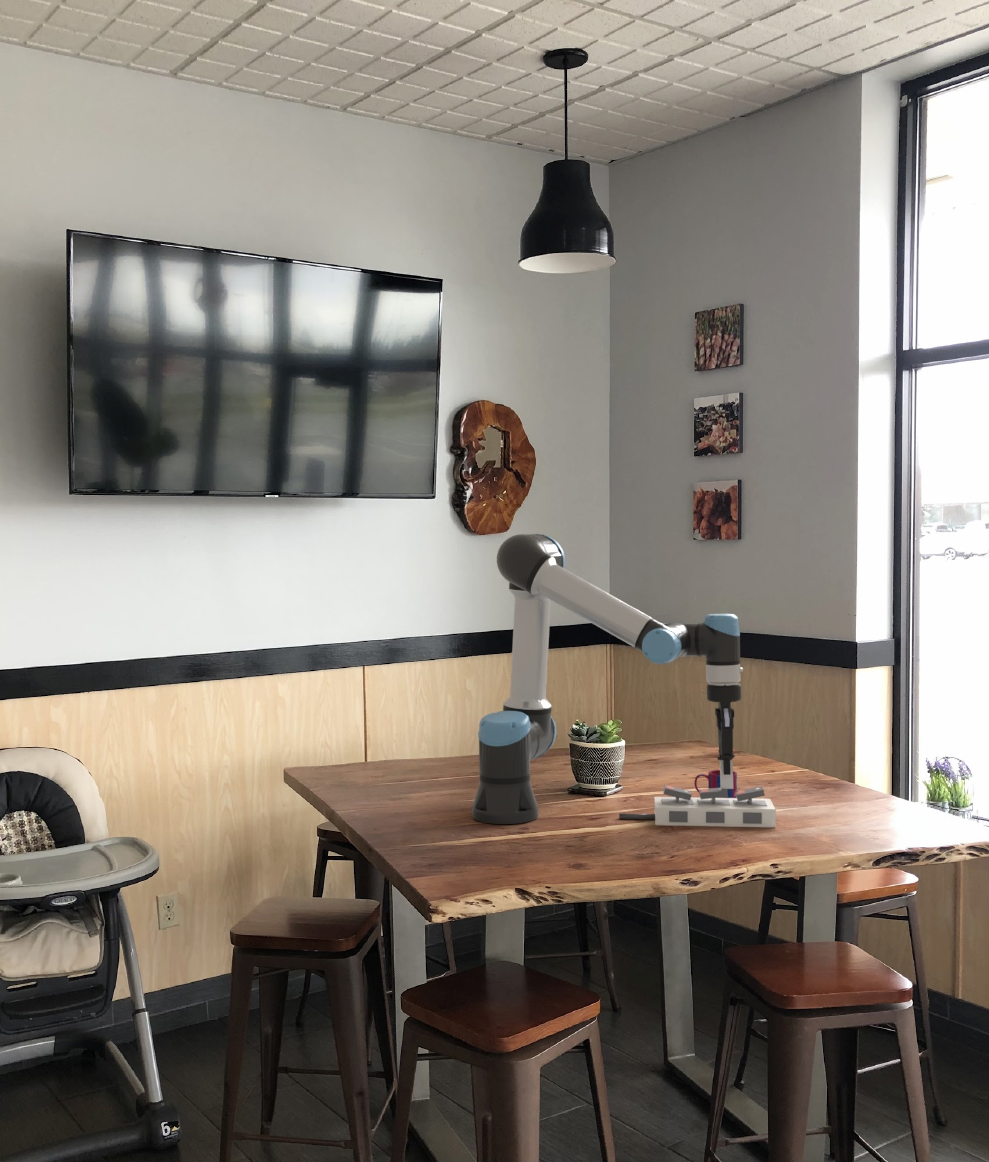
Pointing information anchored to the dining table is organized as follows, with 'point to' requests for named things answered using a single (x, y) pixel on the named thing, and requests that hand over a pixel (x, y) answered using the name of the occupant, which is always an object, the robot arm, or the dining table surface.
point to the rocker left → (677, 792)
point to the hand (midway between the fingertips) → (726, 787)
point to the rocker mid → (713, 793)
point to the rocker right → (749, 793)
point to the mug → (718, 782)
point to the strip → (710, 812)
